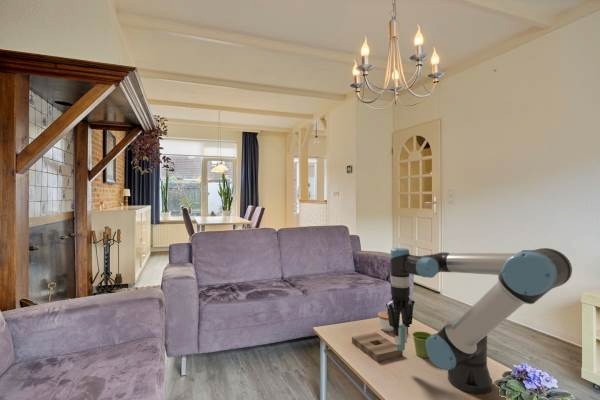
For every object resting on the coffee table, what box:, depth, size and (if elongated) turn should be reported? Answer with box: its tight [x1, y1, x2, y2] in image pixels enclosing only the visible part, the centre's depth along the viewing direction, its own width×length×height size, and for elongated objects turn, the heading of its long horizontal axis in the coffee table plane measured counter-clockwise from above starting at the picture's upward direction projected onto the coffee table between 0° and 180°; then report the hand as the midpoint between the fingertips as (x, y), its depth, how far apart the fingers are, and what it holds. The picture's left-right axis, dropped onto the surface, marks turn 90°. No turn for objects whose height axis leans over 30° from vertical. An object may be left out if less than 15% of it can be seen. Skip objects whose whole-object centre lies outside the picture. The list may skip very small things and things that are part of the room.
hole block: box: [351, 331, 404, 363], centre depth 152 cm, size 20×14×3 cm
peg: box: [396, 322, 406, 351], centre depth 135 cm, size 3×3×10 cm
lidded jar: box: [377, 310, 394, 332], centre depth 176 cm, size 11×11×9 cm
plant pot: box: [411, 330, 432, 359], centre depth 147 cm, size 9×9×9 cm
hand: (401, 342), depth 135 cm, fingers closed on peg, 2 cm apart
